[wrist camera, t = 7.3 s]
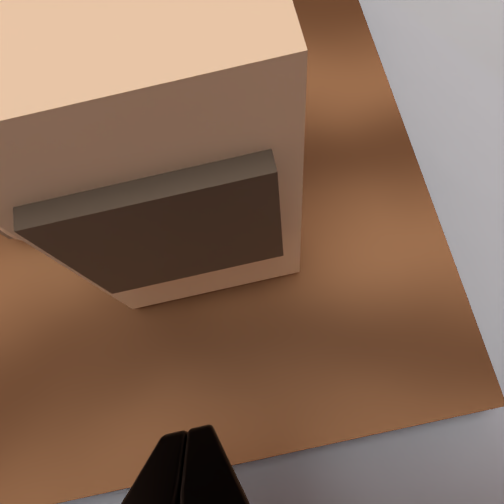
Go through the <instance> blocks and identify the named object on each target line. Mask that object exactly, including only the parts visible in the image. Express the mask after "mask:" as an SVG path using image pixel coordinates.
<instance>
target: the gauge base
mask: <svg viewBox="0 0 504 504" xmlns="http://www.w3.org/2000/svg"><path fill="white" fill-rule="evenodd" d="M292 1H293V4H294V7H295V11H296V14H297V17H298V20H299V24H300V27H301V30H302V33H303V37H304V40H305V43H306V46H307V50H308V53H307V81H306V108H305V136H304V163H303V191H302V219H301V246H300V272H297V273H293V274H288V275H284V276H279V277H275V278H270V279H266V280H261V281H257V282H252V283H248V284H243V285H239V286H234V287H230V288H225V289H221V290H216V291H212V292H207V293H203V294H198V295H194V296H189V297H185V298H180V299H176V300H171V301H167V302H162V303H158V304H153V305H149V306H144V307H140V308H136V309H132V308H130V307H128V306H127V305H125V304H123V303H122V302H120V301H119V300H117V299H115V298H114V297H112V296H111V295H109V294H107V293H106V292H104V291H103V290H101V289H99V288H98V287H96V286H95V285H93V284H91V283H90V282H88V281H87V280H85V279H83V278H82V277H80V276H78V275H77V274H75V273H74V272H72V271H70V270H69V269H67V268H66V267H64V266H62V265H61V264H59V263H58V262H56V261H54V260H53V259H51V258H50V257H48V256H46V255H45V254H43V253H42V252H40V251H38V250H37V249H35V248H33V247H32V246H30V245H29V244H27V243H25V242H24V241H21V240H18V239H14V238H12V239H8V238H6V237H5V236H3V235H1V234H0V504H56V503H61V502H66V501H70V500H75V499H79V498H84V497H89V496H93V495H98V494H102V493H107V492H112V491H116V490H121V489H125V488H130V487H132V485H133V483H134V482H135V480H136V478H137V476H138V475H139V473H140V471H141V470H142V468H143V466H144V465H145V463H146V461H147V460H148V458H149V456H150V455H151V453H152V451H153V450H154V448H155V446H156V445H157V443H158V441H159V440H160V438H161V437H162V436H163V435H165V434H169V433H174V432H178V431H182V430H184V431H187V432H188V431H189V430H190V429H191V428H195V427H199V426H204V425H208V424H210V425H212V426H213V427H214V429H215V431H216V434H217V436H218V438H219V440H220V442H221V444H222V446H223V448H224V451H225V453H226V455H227V457H228V459H229V461H230V463H231V465H236V464H241V463H245V462H250V461H254V460H259V459H264V458H268V457H273V456H277V455H282V454H287V453H291V452H296V451H300V450H305V449H310V448H314V447H319V446H323V445H328V444H333V443H337V442H342V441H346V440H351V439H356V438H360V437H365V436H369V435H374V434H379V433H383V432H388V431H393V430H397V429H402V428H406V427H411V426H416V425H420V424H425V423H429V422H434V421H439V420H443V419H448V418H452V417H457V416H462V415H466V414H471V413H475V412H480V411H485V410H489V409H494V408H498V407H503V406H504V397H503V394H502V391H501V388H500V386H499V383H498V380H497V377H496V375H495V372H494V369H493V366H492V364H491V361H490V358H489V356H488V353H487V350H486V347H485V345H484V342H483V339H482V336H481V334H480V331H479V328H478V326H477V323H476V320H475V317H474V315H473V312H472V309H471V306H470V304H469V301H468V298H467V295H466V293H465V290H464V287H463V285H462V282H461V279H460V276H459V274H458V271H457V268H456V265H455V263H454V260H453V257H452V255H451V252H450V249H449V246H448V244H447V241H446V238H445V235H444V233H443V230H442V227H441V224H440V222H439V219H438V216H437V214H436V211H435V208H434V205H433V203H432V200H431V197H430V194H429V192H428V189H427V186H426V184H425V181H424V178H423V175H422V173H421V170H420V167H419V164H418V162H417V159H416V156H415V153H414V151H413V148H412V145H411V143H410V140H409V137H408V134H407V132H406V129H405V126H404V123H403V121H402V118H401V115H400V112H399V110H398V107H397V104H396V102H395V99H394V96H393V93H392V91H391V88H390V85H389V82H388V80H387V77H386V74H385V72H384V69H383V66H382V63H381V61H380V58H379V55H378V52H377V50H376V47H375V44H374V41H373V39H372V36H371V33H370V31H369V28H368V25H367V22H366V20H365V17H364V14H363V11H362V9H361V6H360V3H359V1H358V0H292Z"/></svg>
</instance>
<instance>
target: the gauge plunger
mask: <svg viewBox="0 0 504 504" xmlns="http://www.w3.org/2000/svg"><path fill="white" fill-rule="evenodd" d="M307 53H308V50H307V46H306V43H305V40H304V37H303V33H302V30H301V27H300V24H299V20H298V17H297V14H296V11H295V7H294V4H293V1H292V0H0V234H1V235H3V236H5V237H6V238H8V239H12V238H14V239H18V240H21V241H24V242H25V243H27V244H29V245H30V246H32V247H33V248H35V249H37V250H38V251H40V252H42V253H43V254H45V255H46V256H48V257H50V258H51V259H53V260H54V261H56V262H58V263H59V264H61V265H62V266H64V267H66V268H67V269H69V270H70V271H72V272H74V273H75V274H77V275H78V276H80V277H82V278H83V279H85V280H87V281H88V282H90V283H91V284H93V285H95V286H96V287H98V288H99V289H101V290H103V291H104V292H106V293H107V294H109V295H111V296H112V297H114V298H115V299H117V300H119V301H120V302H122V303H123V304H125V305H127V306H128V307H130V308H132V309H136V308H140V307H144V306H149V305H153V304H158V303H162V302H167V301H171V300H176V299H180V298H185V297H189V296H194V295H198V294H203V293H207V292H212V291H216V290H221V289H225V288H230V287H234V286H239V285H243V284H248V283H252V282H257V281H261V280H266V279H270V278H275V277H279V276H284V275H288V274H293V273H297V272H300V246H301V219H302V191H303V163H304V136H305V108H306V81H307Z"/></svg>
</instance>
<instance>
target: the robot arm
mask: <svg viewBox="0 0 504 504" xmlns="http://www.w3.org/2000/svg"><path fill="white" fill-rule="evenodd" d="M121 504H249V501H248V499H247V497H246V495H245V493H244V491H243V489H242V487H241V485H240V482H239V480H238V478H237V476H236V474H235V472H234V470H233V468H232V465H231V463H230V461H229V459H228V457H227V455H226V453H225V451H224V448H223V446H222V444H221V442H220V440H219V438H218V436H217V434H216V431H215V429H214V427H213V426H212V425H210V424H208V425H204V426H199V427H195V428H191V429H190V430H189V431H188V432H187V431H184V430H182V431H178V432H174V433H169V434H165V435H163V436H162V437H161V438H160V440H159V441H158V443H157V445H156V446H155V448H154V450H153V451H152V453H151V455H150V456H149V458H148V460H147V461H146V463H145V465H144V466H143V468H142V470H141V471H140V473H139V475H138V476H137V478H136V480H135V482H134V483H133V485H132V487H131V488H130V490H129V492H128V493H127V495H126V497H125V498H124V500H123V502H122V503H121Z"/></svg>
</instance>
